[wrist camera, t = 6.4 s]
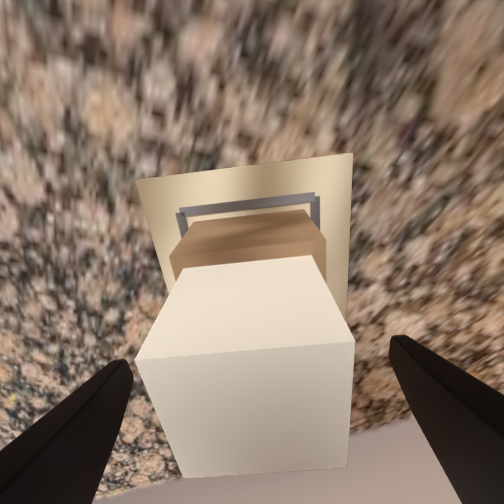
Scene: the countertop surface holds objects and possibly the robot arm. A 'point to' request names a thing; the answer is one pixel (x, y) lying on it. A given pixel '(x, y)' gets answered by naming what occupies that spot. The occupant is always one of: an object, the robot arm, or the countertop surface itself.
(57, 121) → the countertop surface
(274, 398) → the cream block
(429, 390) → the robot arm
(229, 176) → the build plate
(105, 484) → the countertop surface
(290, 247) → the walnut block
